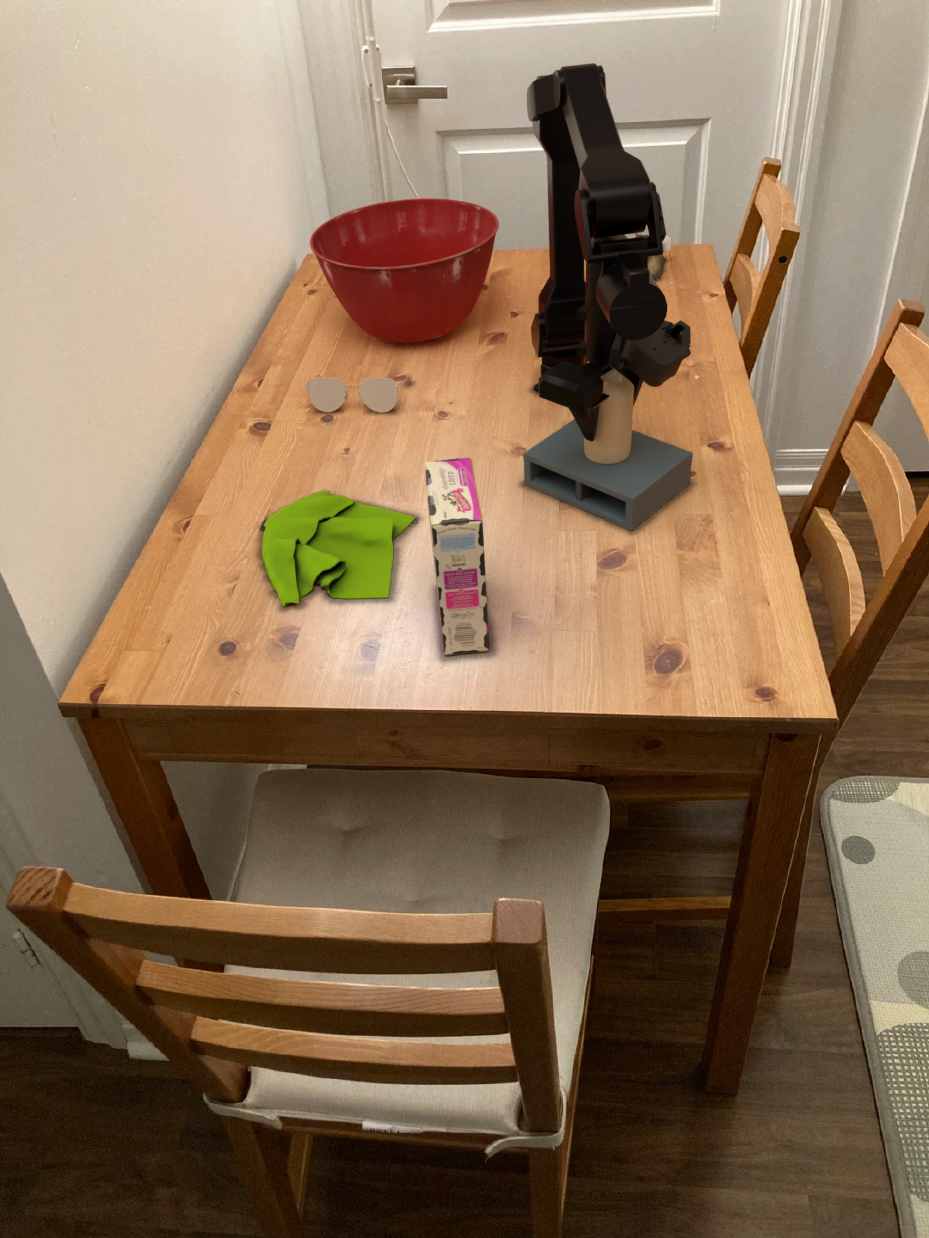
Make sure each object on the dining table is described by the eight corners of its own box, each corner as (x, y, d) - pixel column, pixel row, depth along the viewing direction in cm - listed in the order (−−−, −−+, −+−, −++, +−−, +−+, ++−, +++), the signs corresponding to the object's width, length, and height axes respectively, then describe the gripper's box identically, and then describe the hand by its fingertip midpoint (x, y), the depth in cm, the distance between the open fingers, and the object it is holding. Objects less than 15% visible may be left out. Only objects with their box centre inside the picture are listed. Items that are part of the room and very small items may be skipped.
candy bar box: (493, 652, 98) (484, 520, 88) (444, 658, 98) (428, 526, 87) (482, 582, 107) (472, 454, 96) (436, 587, 107) (421, 459, 96)
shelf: (583, 442, 127) (584, 412, 124) (689, 484, 118) (693, 452, 115) (524, 484, 120) (523, 453, 117) (631, 531, 112) (633, 499, 109)
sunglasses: (306, 412, 138) (301, 377, 135) (322, 392, 145) (317, 358, 142) (403, 412, 136) (400, 377, 133) (414, 392, 143) (411, 358, 140)
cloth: (318, 483, 124) (315, 466, 122) (458, 534, 114) (457, 517, 112) (200, 570, 112) (195, 553, 110) (346, 636, 102) (342, 619, 100)
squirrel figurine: (621, 252, 170) (612, 263, 162) (646, 216, 166) (638, 226, 158) (656, 279, 170) (649, 291, 163) (682, 244, 166) (676, 254, 159)
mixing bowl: (290, 331, 158) (271, 235, 147) (424, 275, 171) (415, 183, 161) (402, 387, 141) (389, 283, 131) (540, 320, 155) (538, 221, 144)
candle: (628, 466, 114) (632, 388, 107) (581, 463, 115) (582, 387, 108) (632, 441, 118) (636, 364, 111) (586, 439, 119) (587, 363, 112)
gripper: (622, 352, 94) (617, 487, 105) (726, 285, 104) (711, 414, 115) (533, 323, 100) (536, 453, 111) (639, 263, 110) (632, 387, 121)
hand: (608, 427), depth 114 cm, fingers open, 7 cm apart
